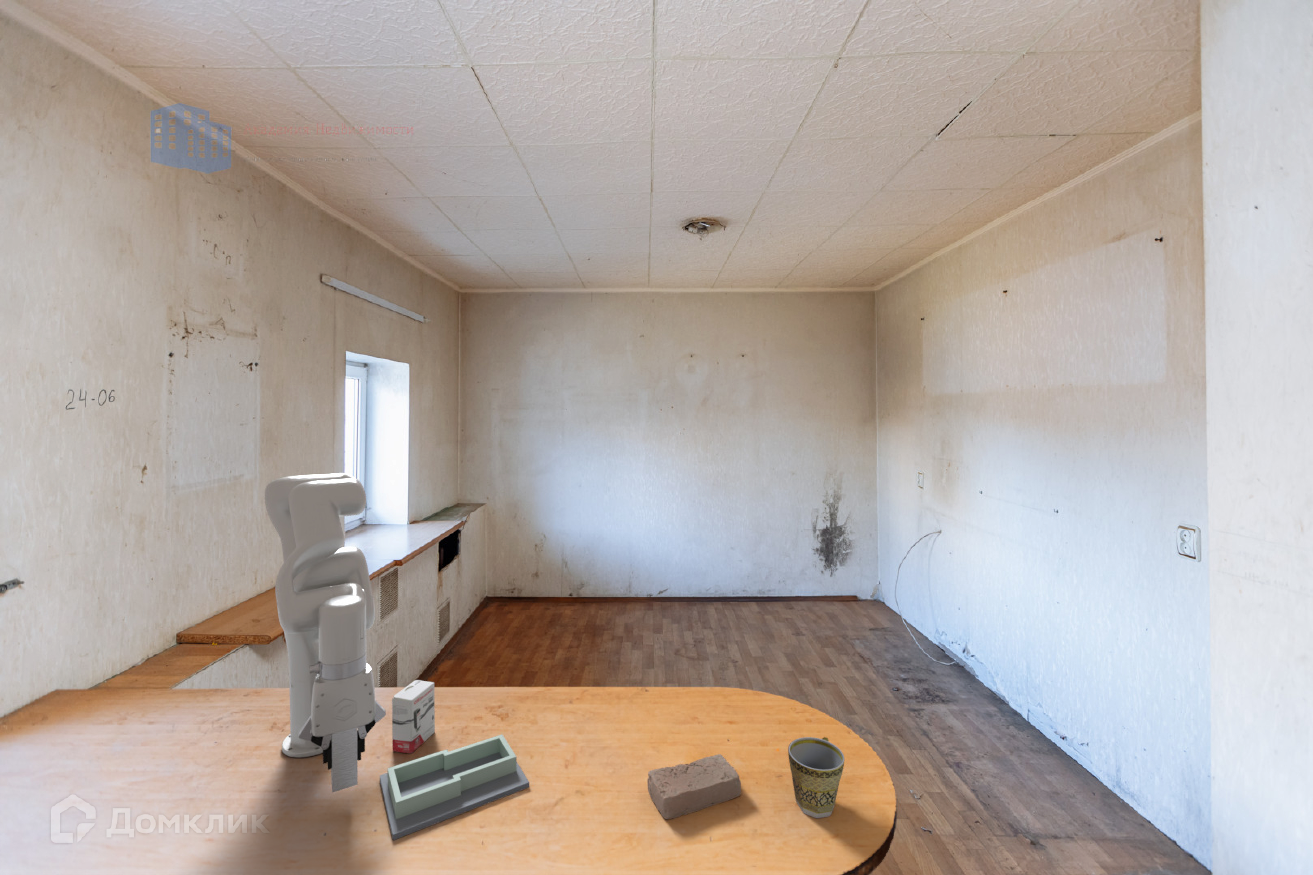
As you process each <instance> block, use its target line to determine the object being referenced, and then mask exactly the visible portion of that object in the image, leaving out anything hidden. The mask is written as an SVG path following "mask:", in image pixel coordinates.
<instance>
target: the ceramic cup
mask: <svg viewBox="0 0 1313 875" xmlns="http://www.w3.org/2000/svg"><path fill="white" fill-rule="evenodd" d="M787 752H788V761H789V768H790V772H791V778H792V785H793V791H794V798H795V802H796V804H797V806H798V807H799V809H800V810H801V812H802V813H803V814H805V815H807V816H809V817H812V818H815V819H823V818H827V817H830V816H831V815H832V813H833V811H834V808H835V805H836V800H837V795H838V791H839V785H840V782H841V779H842V775H843V771H844V765H845V755H844V753H843V752H842V750H841V749H840V748H839V747H838V746H836V745H835V744H834V743H831V742H830V741H829V738H828V737H825V736H824V737H823V738H819V737H811V736H810V737H808V736H806V737H799V738H796V739H794V740H792V741H791V742H790V744H789V745H788V749H787Z"/></svg>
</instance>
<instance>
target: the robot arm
mask: <svg viewBox="0 0 1313 875" xmlns="http://www.w3.org/2000/svg"><path fill="white" fill-rule="evenodd" d="M366 495H367V494H366V491H365V488H364V486H363V484H362V483H361V481H360V480H359V479H357V478H356V477H355V476H353V475H351V474H349V473H346V472H345V473H344V472H339V473H336V472H335V473H324V474H323V473H322V474H318V473H317V474H302V475H301V474H299V475H288V476H285V477H284V476H283V477H280V478H276V479H273V480H271V481H270V482H269V483H267V484H266V486H265V489H264V503H265V509H266V513H267V515H268V518H269V520H270V521H271V524H272V525H273V528H274V530H275V531H276V533H277V534H278V537H279V539H280V542H281V543H280V544H281V551H282V558H283V562H282V565H281V567H280V569H279V571H278V573H277V576H276V578H275V587H274V589H275V591H274V592H275V599H276V608H277V615H278V621H279V624H280V628H282V630H283V633H284V639H285V644H286V649H287V656H288V657H287V658H288V679H289V680H288V682H289V685H288V686H289V721H290V723H289V724H290V725H289V726H290V727H289V728H290V732H289V734H288V735H287V736H286V737H285V738H284V740H283V741H282V743H281V750H282V753H283V754H284V755H285V756H288V757H290V758H308V757H312V756H318V755H321V754H322V764H323V765H325V764H326V765H327V770H328V771H329V770H331V768H332V745H331V734H335V733H338V732H342V731H346V730H350V729H353V728H357V762H358V761H362V753H365V752H366V738H367V736H368V733H369V732H370V731H371V730H372V729H373V728H374V727H375V725H376V724H377V723H378V722H380V721H381V720H382V719H383V718H384V717H385V716H386V714H387V713H386V709H385V708H384V707H383V706H382V705H381V704H380V702H378V701H377V700H376V690H375V680H374V674H373V670H372V667H371V665H370V664H368V663H367V630H369V629H371V628H372V627H373V626H374V623H375V621H376V620H375V619H376V606H375V600H374V594H373V589H372V583H371V578H370V574H369V568H368V567H369V566H368V561H367V560H366V556H365V554H364V552H363V551H362V550H361V549H360V548H359V547H356V546H343V545H344V543H345V536H344V532H343V527H342V523H341V519H340V518H341V517H342V518H344V517H351V516H358V515H360V514H362V513H363V512H364V511H365V508H366V505H367V496H366ZM342 546H343V547H342Z"/></svg>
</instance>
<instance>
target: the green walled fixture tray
mask: <svg viewBox="0 0 1313 875" xmlns="http://www.w3.org/2000/svg"><path fill="white" fill-rule="evenodd" d="M379 782H380V783H379V784H380V787H381V793H382V797H383V801H384V806H385V811H386V815H387V816H386V817H387V819H388V824H389V828H390V833H391V838H392V841H395V840H398V839H401V838H403V837H406V836H408V835H410V834H413V833H416V832H418V831H422V830H423V829H426V828H429V827H431V826H434V825H436V824H439V823H441V822H443V821H447V820H449V819H451V818H454V817H456V816H459V815H461V814H465V813H467V812H469V811H473V810H475V809H477V808H480V807H482V806H484V805H487V804H490V803H492V802H495V801H498V800H500V799H503V798H505V797H507V796H510V795H513V794H516V793H518V792H521V791H523V790H525V789H528V788H530V780H529V779H528V778H527V776H526V774H525V773H524V771H523V770H522V768H521V766H520V765H519V763H518V762H517V754H515V752H514V750H513V749H512V747H511V746H510V744H509V742H508V741H507V739H506V738H505V736H504V734H503V733H501V734H499V735H496V736H493V737H490V738H487V739H484V740H480V741H477V742H474V743H470V744H467V745H465V746H462V747H458V748H456V749H451V750H450V751H449V750H448V749H444V750H440V751H436V752H434V753H431V754H427V755H424V756H422V757H418V758H416V759H413V760H409V761H405V762H403V763H399V764H396V765H394V766H391V767H387V772H386V773H383V774H379Z"/></svg>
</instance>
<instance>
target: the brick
mask: <svg viewBox="0 0 1313 875" xmlns="http://www.w3.org/2000/svg"><path fill="white" fill-rule="evenodd" d="M647 775H648V778H647V791H648V794H649V796H650V798H651V799H652V802H653V803H654V805H655V807H656V810H657V811H659V813H660V815H661V816H662V817H663V818H664V820H669V819H676V818H679V817H681V816H683V815H684V816H687V815H689V814H691V813H695V812H698V811H701V810H703V809H707V808H709V807H712V806H716V805H718V804H720V803H725V802H728V801H730V800H732V799H735V798H738V797H740V796H741V794H742V788H741V787H742V782H741V779H740V775H739V774H738V772H737V770H736V769H735V767H734V766H732V765H731V764H730V763H729V762H728V761H727V759H726V758H725V757H724V756H723V755H722V754H714V755H710V756H706V757H703V758H699V759H697V760H694V761H691V762H690V763H684V764H683V763H680V764H679V763H678V764H677V765H675V766H665V767H660V768H654V769H650V770H649V771H648V774H647Z"/></svg>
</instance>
